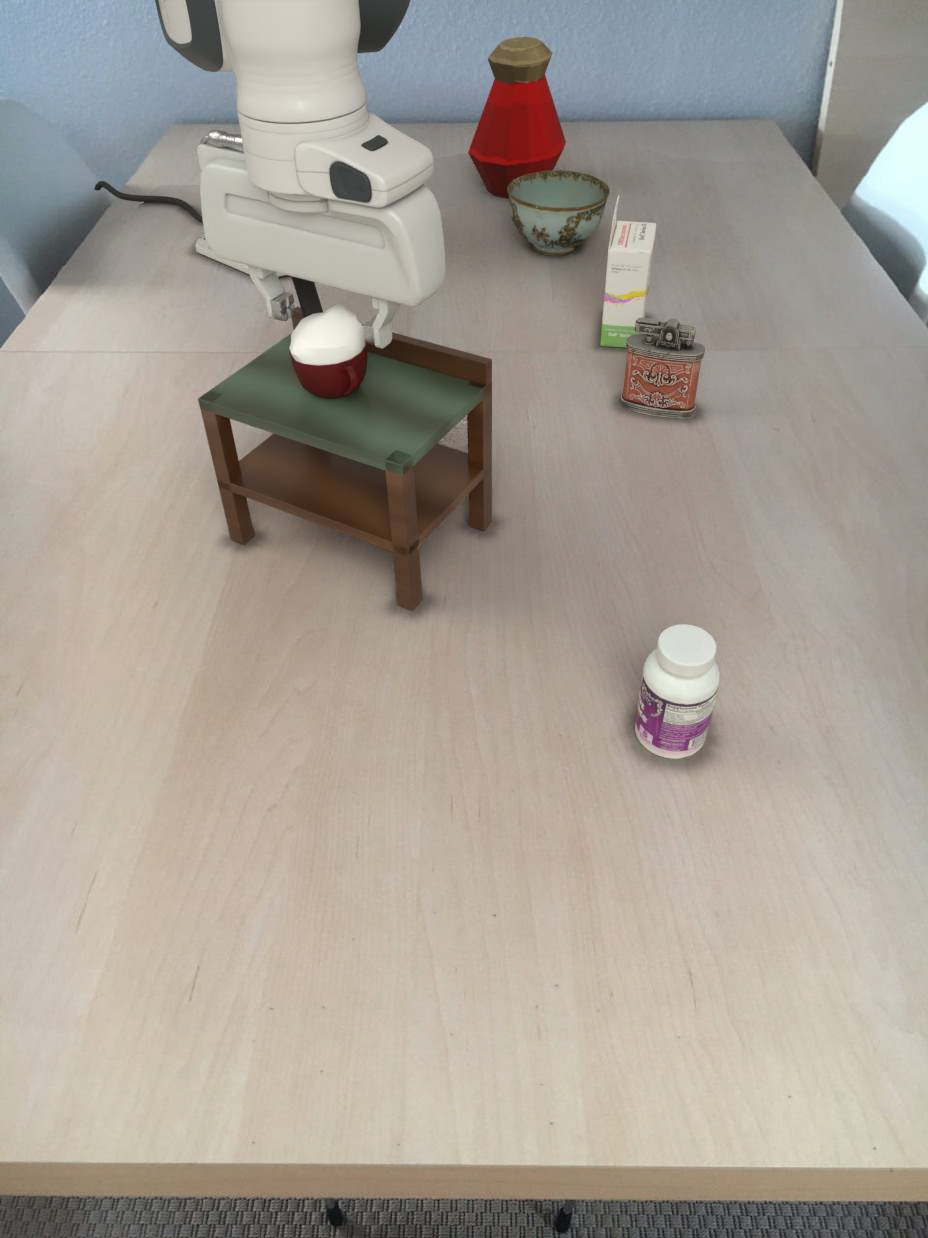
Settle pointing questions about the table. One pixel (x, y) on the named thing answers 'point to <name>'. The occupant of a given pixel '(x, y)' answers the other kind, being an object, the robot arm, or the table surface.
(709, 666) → the pill bottle
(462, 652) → the table surface
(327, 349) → the cocoa
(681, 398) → the lighter
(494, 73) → the bottle
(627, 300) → the white medicine box
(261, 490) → the green top side table
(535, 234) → the bowl
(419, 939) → the table surface
